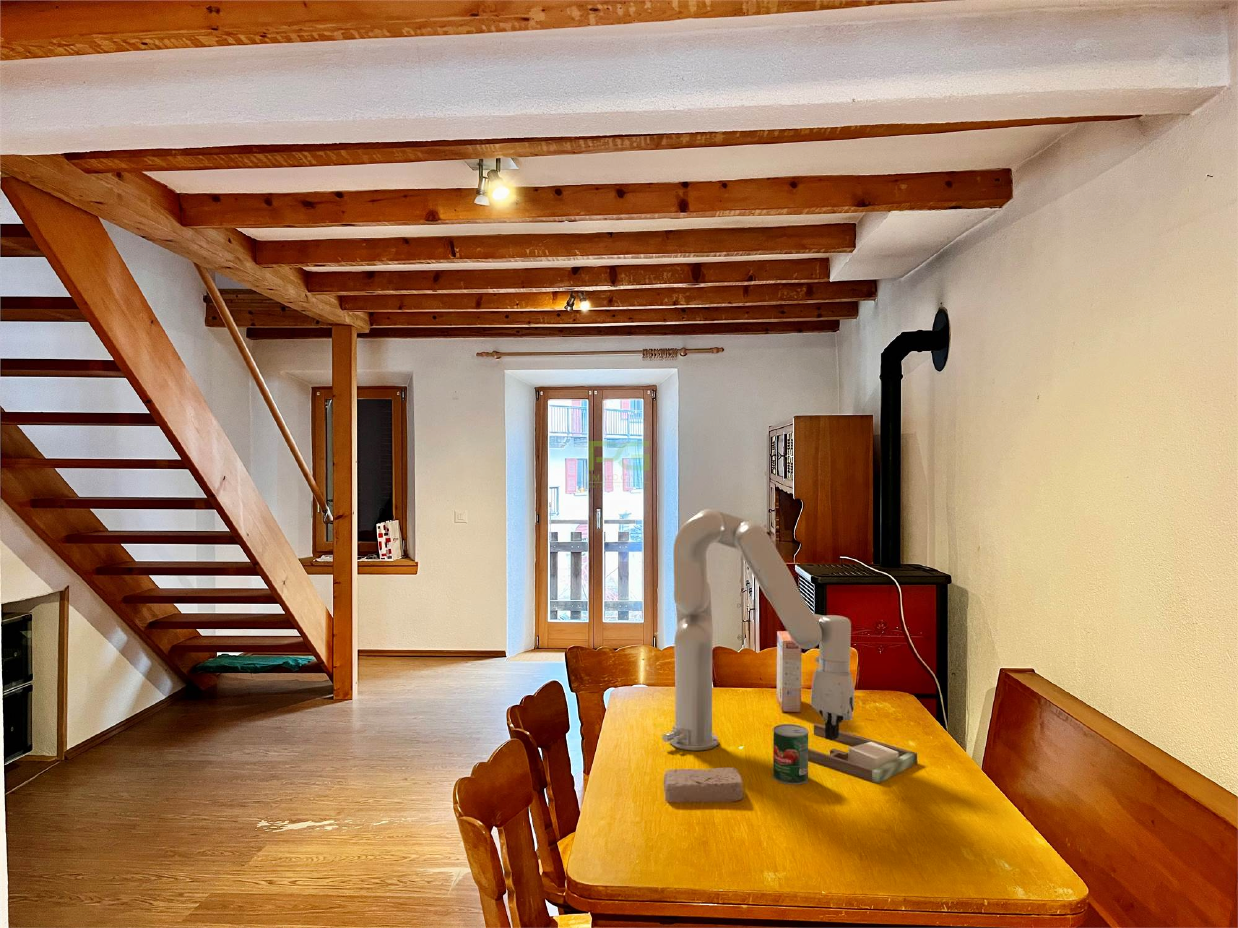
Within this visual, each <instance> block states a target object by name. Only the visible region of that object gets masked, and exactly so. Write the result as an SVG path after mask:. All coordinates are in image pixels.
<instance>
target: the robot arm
mask: <svg viewBox="0 0 1238 928" xmlns="http://www.w3.org/2000/svg"><path fill="white" fill-rule="evenodd" d="M714 543H716V544H718V545H721V546H725V547H728V548H730V549H735V550H738V552H739V554H740V556H741V558H742V559H743V561H744V563H745V564H746V565H747V568H748V569H749V570H750V572H751V574H752V575H753V577H754V579H755V581H756V582H757V585H758V586H759V587H760V589H761V591H762V593H763V594H764V596H765V598H766V599H767V600H768V602H770V603H769V604H771V606H772V608H773V609H774V611H775V612H776V614H777V616H778V617H779V620H780V621H781V623H782V624H783V626H784V628H785V629H786V630H785V631H788V633H789V635H790V636H791V638H792V640H793V641H794V643H795V644H796V645H797V646H799V647H801V648H802V649H803V650H811V649H814V648H816V647H817V646H818V645H819V646H818V648H819V649H818V656H816V657H815V658H814V661H815V662H816V663H818V664H817V665H818V667H816V668H815V669H814V674H813V677H812V682H811V693H810V705H811V706H812V710H814V711H816V712H817V713H819V714H820V715H821V718H822V722H824V723H825V724H824V726H825V734H826V736H825V737H824V738H825V739H826V740H829V741H835V740H834V739H837V738H838V736H839V730H840V723H842V722H843V721H852V720H853V718H854V717H853V712H854V709H855V688H854V679H853V676H852V673H851V672H850V668H851V666H850V662H851V659H850V658H851V639H852V638H851V636H852V635H851V634H852V627H851V626H852V623H851V620H850V619H849V618H848V617H845V616H842V615H834V614H829V615H828V614H827V615H822V614H817V613H812V610H811V609H810V607H809V606H808V604H807V602H806V601H805V599H804V597H803V595H802V594H801V591H800V590H799V587H798V585H797V583H796V581H795V578H794V576H793V575H792V573H791V571H790V570H789V569H790V568H788V566H787V564H786V563H785V561H784V559H783V558H782V556H781V554H780V553H779V551H778V549H777V547H776V546H775V544H774V543H773V541H772V539H771V538H770V536H769V534H768V533H767V531H766V529H765V528H764V527H763V526H762V525H761V524H760V523H758V522H756V521H752V520H749V519H745V518H742V517H738V516H735V515H731V514H729V513H725V512H723V511H720V510H716V509H713V508H707V509H703V510H700V511H699V512H698V513H696V515H694V516H693V517H691V518H689V520H687V521H686V522H685V523H684V524H682V526H681V528H680V529H679V530H678V532H677V533H676V536H675V539H674V544H673V553H672V554H673V599H674V603H675V608H676V609H675V610H676V625H677V627H676V630H675V634H674V681H675V686H674V688H675V690H674V693H675V695H674V696H675V697H674V699H675V701H674V703H675V706H674V708H675V709H674V710H675V711H674V713H675V714H674V716H675V717H674V720H675V721H674V723H675V725H672V730H671V731H670V732H667V733H664V734H662V741H663V742H664V743H667V742H669V744H670V745H672V746H673V747H675V748H678V749H681V750H684V751H685V750H686V751H695V752H696V751H706V750H711V749H713V748H715V747H717V746H718V744H719V737H718V736H717V735H716V734H715V733H713V644H714V643H713V637H714V636H713V635H714V632H713V631H714V630H713V614H712V611H713V610H712V597H711V596H712V594H711V593H712V592H711V586H710V583H709V582H708V573H707V571H708V570H707V551H708V548H709V547H710V545H711V544H714Z"/></svg>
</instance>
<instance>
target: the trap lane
mask: <svg viewBox="0 0 1238 928" xmlns="http://www.w3.org/2000/svg"><path fill="white" fill-rule="evenodd" d="M813 735H816V736H819V737H822V738H825V736H826V734H825V725H822V724H818V723H815V724H814V725H813ZM833 741H835V742H839V743H842V744H845V745H849V746H850V747H854V746H857V745H861V744H865V743H868V742H873V743H876V744H878V745H881V746H884V747H886V748H889V749H892V750H894V751H897V752H898V758H897V759H895V760H893V761H891V762H889V763H887V764H885V765H883V766H881V767H879V768H877V769H875V770H874V769H871V768H868V767H865V766H861V765H858V764H855V763H852V762H849V761H848V752H845V751H842V750H840V749H837V748H831V749H829V754H827V753H824V752H821V751H818V750H814V749H812V748H809V747H808V761H810V762H812V763H813V762H814V763H816V764H819V765H822V766H823V767H824V766H825V767H828V768H831V769H834V770H837V771H840V772H843V773H845V774H849V775H852V776H855V777H858V778H860V779H864V780H867V781H868V782H869V781H870V782H873V783H875V784H880V783H883V782H885V781H886V780H888V779H889V778H892V777H893V776H896V775H897V774H900V773H901V772H903V771H905V770H907V769H908V768H911V767H912V766H915V765H917V764H918V753H917V752H915V751H912V750H909V749H905V748H900V747H897V746H894V745H892V744H888V743H883V742H881V741H879V740H878V741H877V740H874V739H871V738H867V737H863V736H861V735H856V734H853V733H850V732H847V731H843V730H840V729H839V736H838V738H837V739H834V740H833Z"/></svg>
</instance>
